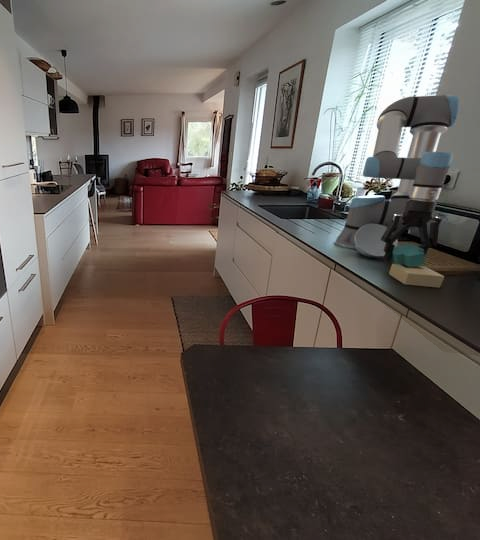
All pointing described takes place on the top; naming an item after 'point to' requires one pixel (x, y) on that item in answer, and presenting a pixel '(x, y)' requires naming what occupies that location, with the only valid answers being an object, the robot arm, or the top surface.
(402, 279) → the sand pad
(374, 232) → the chinaware
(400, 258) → the teal star block
